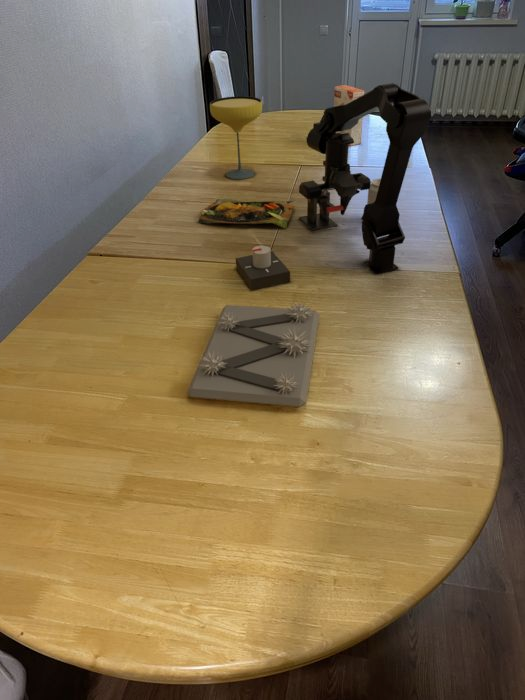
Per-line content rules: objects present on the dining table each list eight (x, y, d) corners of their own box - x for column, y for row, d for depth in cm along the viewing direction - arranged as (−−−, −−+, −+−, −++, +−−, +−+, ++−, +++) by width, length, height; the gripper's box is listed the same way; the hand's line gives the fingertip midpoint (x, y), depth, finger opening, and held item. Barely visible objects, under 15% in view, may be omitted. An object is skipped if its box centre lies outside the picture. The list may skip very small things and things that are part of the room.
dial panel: (290, 282, 126) (290, 270, 124) (251, 290, 124) (250, 278, 122) (272, 261, 135) (272, 250, 134) (236, 268, 133) (235, 257, 131)
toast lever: (343, 212, 142) (343, 204, 141) (327, 215, 141) (327, 207, 139) (324, 198, 151) (324, 190, 150) (308, 201, 150) (308, 193, 149)
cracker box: (331, 138, 226) (333, 86, 214) (343, 136, 228) (346, 84, 216) (349, 146, 216) (352, 91, 203) (361, 144, 218) (365, 89, 205)
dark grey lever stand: (337, 227, 151) (339, 195, 145) (312, 232, 149) (313, 199, 143) (322, 215, 159) (323, 184, 153) (298, 220, 157) (299, 188, 151)
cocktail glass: (271, 178, 188) (270, 103, 173) (224, 186, 183) (218, 110, 168) (254, 164, 201) (251, 94, 186) (209, 171, 196) (203, 99, 181)
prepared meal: (194, 213, 154) (214, 190, 168) (195, 224, 156) (215, 201, 170) (285, 223, 148) (299, 199, 162) (285, 234, 150) (298, 210, 164)
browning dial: (267, 258, 130) (266, 243, 127) (273, 266, 127) (273, 250, 124) (250, 262, 129) (249, 246, 126) (256, 270, 126) (256, 253, 123)
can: (391, 227, 150) (396, 186, 143) (365, 226, 151) (368, 185, 144) (391, 217, 156) (396, 177, 149) (366, 216, 157) (369, 176, 150)
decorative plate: (224, 312, 117) (221, 284, 112) (319, 318, 113) (320, 289, 109) (186, 401, 93) (181, 371, 89) (305, 412, 90) (305, 381, 85)
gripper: (316, 173, 125) (314, 233, 134) (384, 162, 130) (378, 221, 139) (298, 160, 133) (297, 217, 143) (362, 150, 138) (357, 206, 147)
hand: (333, 216), depth 143 cm, fingers closed on toast lever, 5 cm apart
